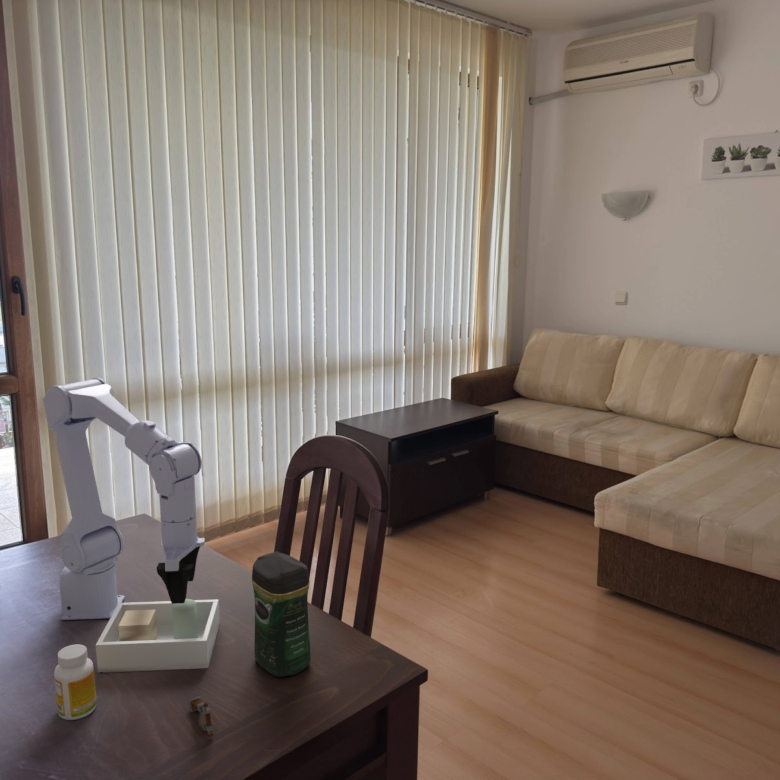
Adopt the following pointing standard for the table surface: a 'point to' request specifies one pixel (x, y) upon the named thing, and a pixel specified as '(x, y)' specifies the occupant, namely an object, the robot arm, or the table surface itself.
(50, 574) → the table surface
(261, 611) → the coffee jar
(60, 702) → the supplement bottle
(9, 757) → the table surface
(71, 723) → the table surface
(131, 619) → the maple cube
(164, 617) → the tote
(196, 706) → the wooden post with brackets
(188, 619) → the sage cylinder
